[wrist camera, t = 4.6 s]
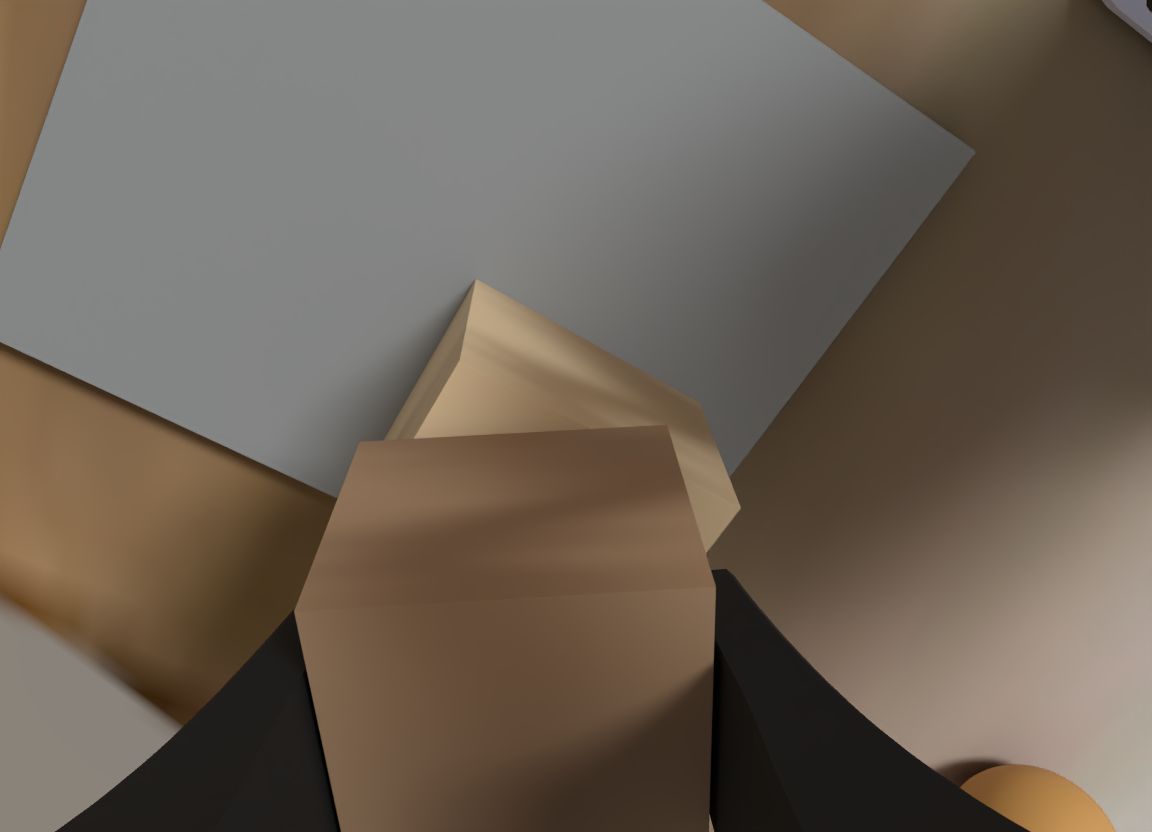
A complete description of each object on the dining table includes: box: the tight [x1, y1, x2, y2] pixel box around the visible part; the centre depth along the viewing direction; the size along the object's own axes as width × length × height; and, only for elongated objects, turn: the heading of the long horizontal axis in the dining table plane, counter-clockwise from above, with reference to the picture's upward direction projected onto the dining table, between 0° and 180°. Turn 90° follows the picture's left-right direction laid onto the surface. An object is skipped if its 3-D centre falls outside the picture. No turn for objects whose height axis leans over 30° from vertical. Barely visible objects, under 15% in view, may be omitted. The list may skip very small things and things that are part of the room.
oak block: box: [384, 279, 741, 553], centre depth 16 cm, size 5×5×4 cm
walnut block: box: [294, 425, 716, 832], centre depth 12 cm, size 4×4×4 cm
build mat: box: [0, 0, 976, 499], centre depth 17 cm, size 14×12×1 cm
